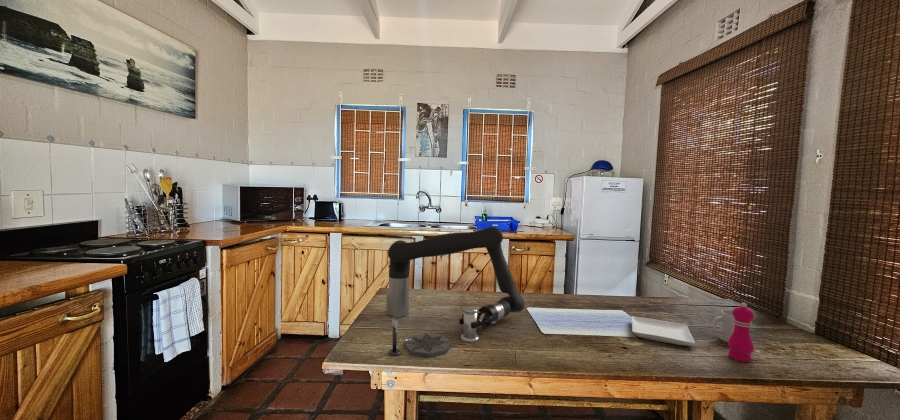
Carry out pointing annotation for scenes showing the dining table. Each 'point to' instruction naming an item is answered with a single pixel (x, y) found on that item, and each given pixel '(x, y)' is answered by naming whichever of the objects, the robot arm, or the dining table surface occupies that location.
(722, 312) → the mug
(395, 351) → the stand
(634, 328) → the salad plate
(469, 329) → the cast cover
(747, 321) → the pepper mill
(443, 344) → the grey octagonal star trivet
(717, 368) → the dining table surface
